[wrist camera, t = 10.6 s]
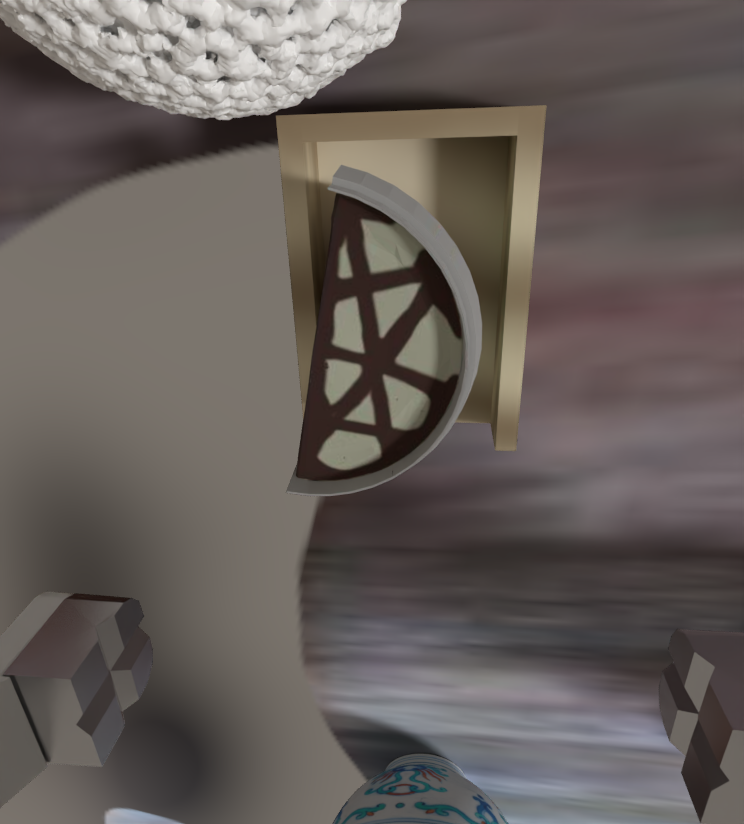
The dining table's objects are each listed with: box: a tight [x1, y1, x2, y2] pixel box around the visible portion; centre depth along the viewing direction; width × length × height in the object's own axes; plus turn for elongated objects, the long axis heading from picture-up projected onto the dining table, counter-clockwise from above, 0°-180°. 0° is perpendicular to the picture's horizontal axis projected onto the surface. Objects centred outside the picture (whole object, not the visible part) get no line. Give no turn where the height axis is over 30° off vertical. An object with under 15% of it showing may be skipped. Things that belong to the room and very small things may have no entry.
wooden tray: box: [276, 105, 546, 451], centre depth 28 cm, size 15×10×4 cm
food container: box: [286, 165, 482, 496], centre depth 24 cm, size 12×6×10 cm, turn 170°
